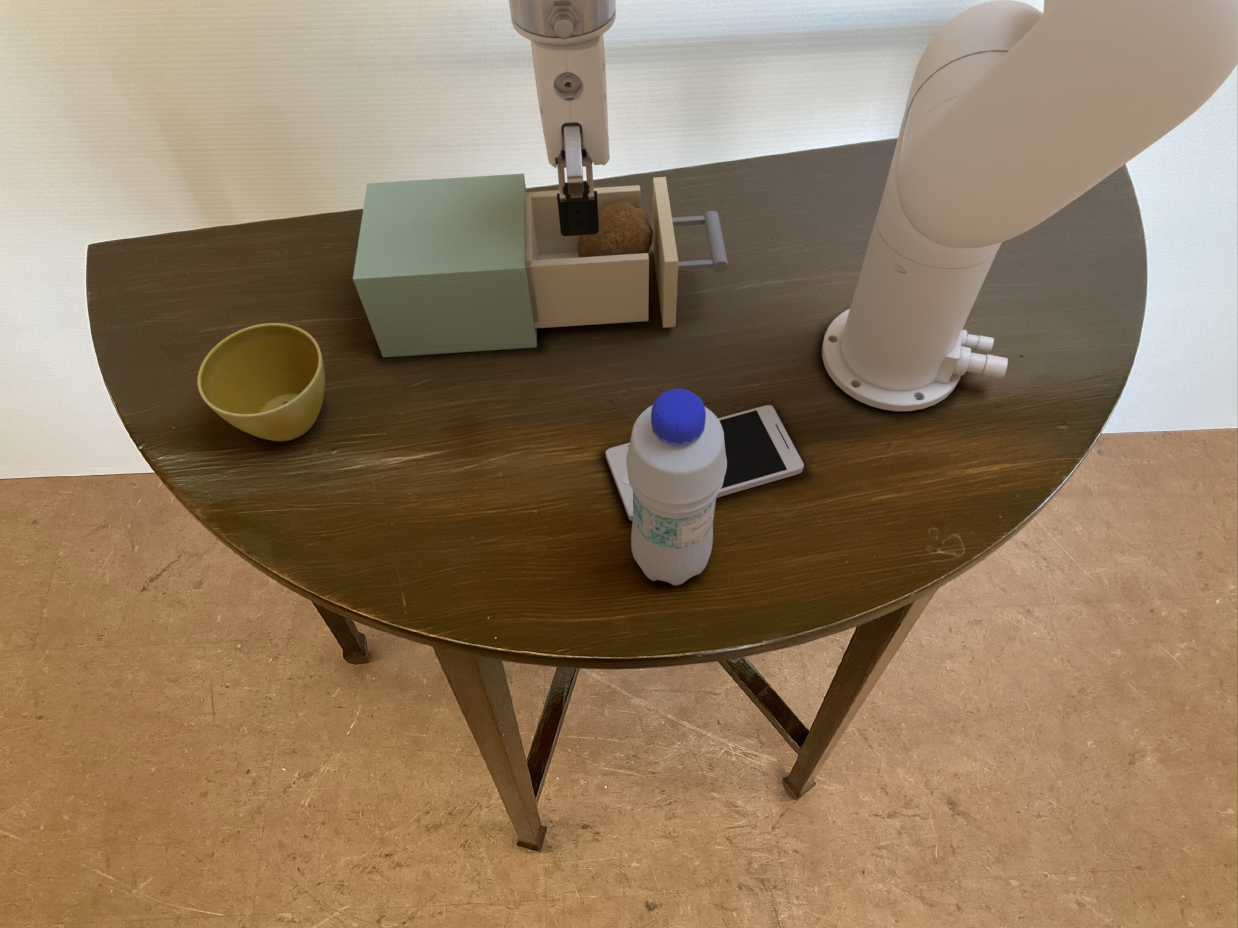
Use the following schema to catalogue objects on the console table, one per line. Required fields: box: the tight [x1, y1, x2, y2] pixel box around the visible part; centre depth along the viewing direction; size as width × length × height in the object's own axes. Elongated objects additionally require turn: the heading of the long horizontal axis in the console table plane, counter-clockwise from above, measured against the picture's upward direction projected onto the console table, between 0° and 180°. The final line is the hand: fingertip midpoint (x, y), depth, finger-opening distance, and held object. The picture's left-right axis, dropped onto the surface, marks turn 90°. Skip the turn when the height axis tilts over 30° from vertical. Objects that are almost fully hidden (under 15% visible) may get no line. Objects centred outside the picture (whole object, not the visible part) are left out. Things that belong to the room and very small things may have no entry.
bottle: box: [626, 388, 727, 586], centre depth 60 cm, size 7×7×20 cm
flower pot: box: [197, 322, 326, 442], centre depth 74 cm, size 10×10×7 cm
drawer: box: [525, 176, 729, 329], centre depth 80 cm, size 18×11×8 cm, turn 94°
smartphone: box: [605, 404, 805, 522], centre depth 73 cm, size 7×16×1 cm, turn 108°
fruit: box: [577, 202, 653, 258], centre depth 80 cm, size 6×6×8 cm
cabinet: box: [352, 173, 538, 358], centre depth 80 cm, size 15×13×10 cm
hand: (577, 195), depth 74 cm, fingers open, 9 cm apart
